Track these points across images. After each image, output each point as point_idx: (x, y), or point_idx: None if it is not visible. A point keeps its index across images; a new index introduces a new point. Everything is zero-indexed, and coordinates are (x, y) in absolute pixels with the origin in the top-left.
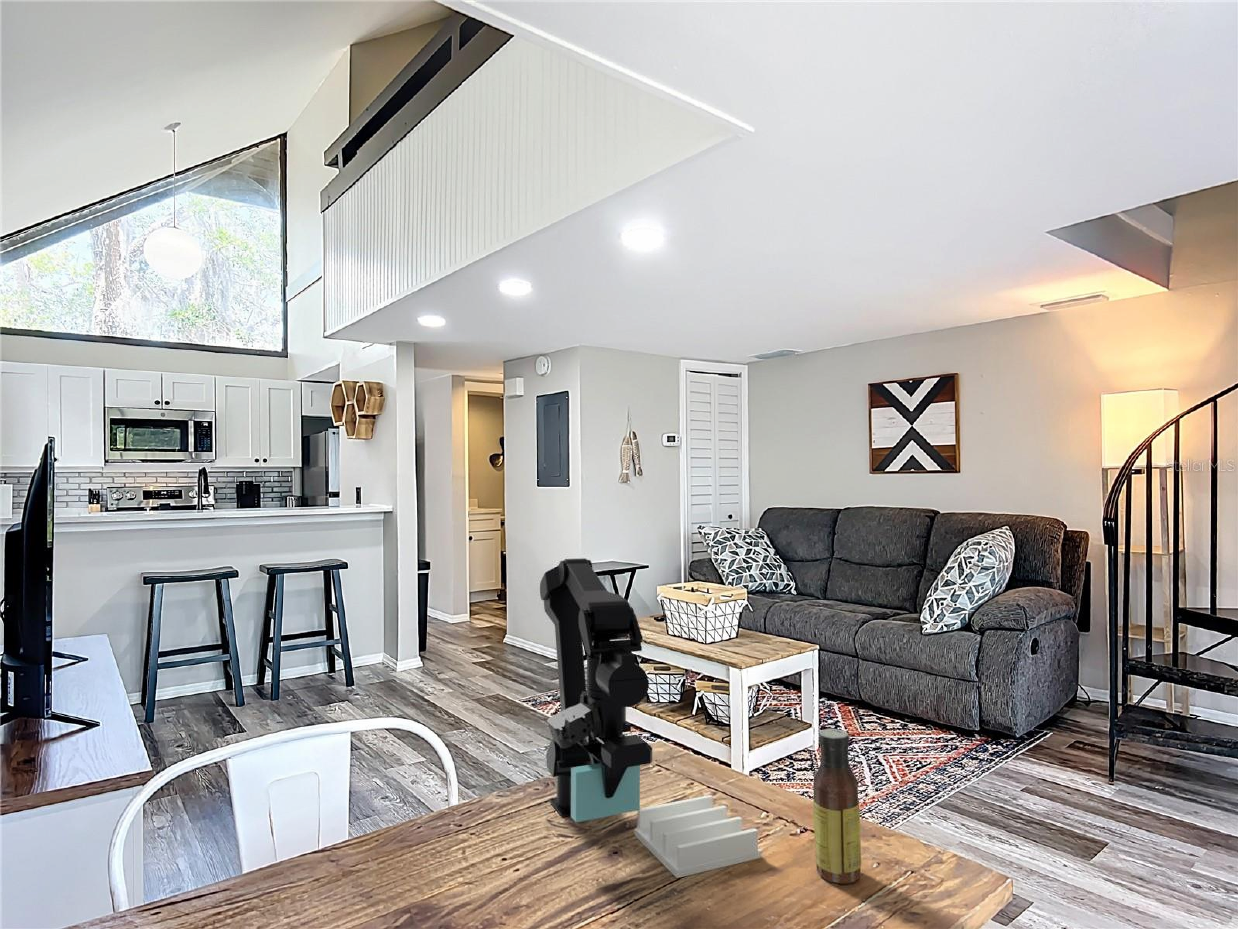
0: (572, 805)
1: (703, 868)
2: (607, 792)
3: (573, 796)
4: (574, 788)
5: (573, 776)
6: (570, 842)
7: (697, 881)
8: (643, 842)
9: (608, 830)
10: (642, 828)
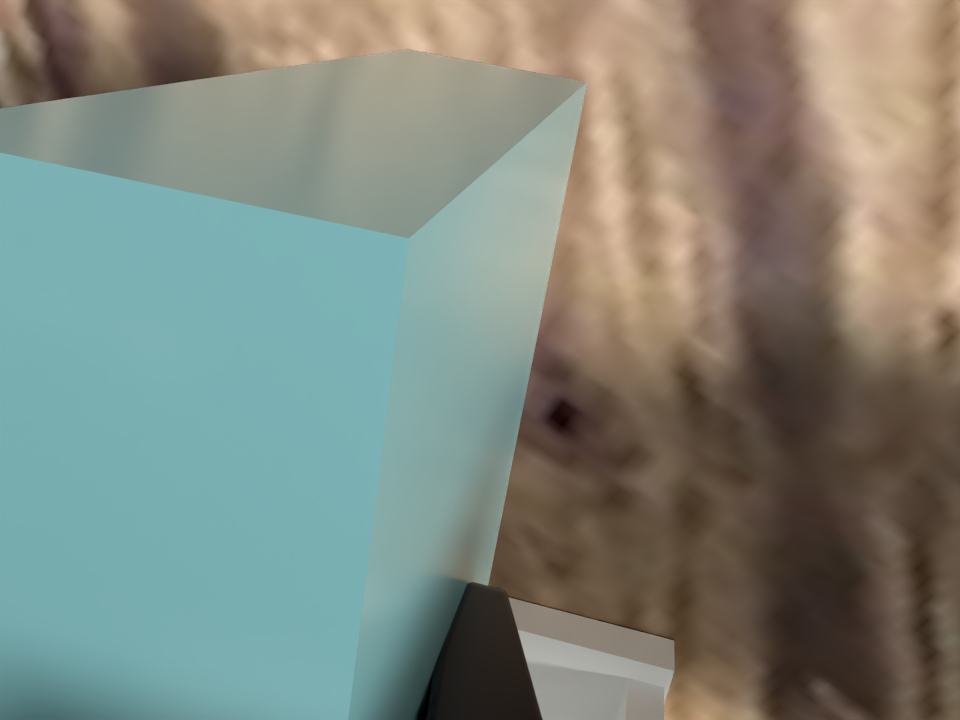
0: (497, 84)
1: None
2: None
3: (417, 92)
4: (290, 94)
5: (242, 143)
6: (917, 240)
7: None
8: (537, 613)
9: (863, 567)
10: (623, 701)
